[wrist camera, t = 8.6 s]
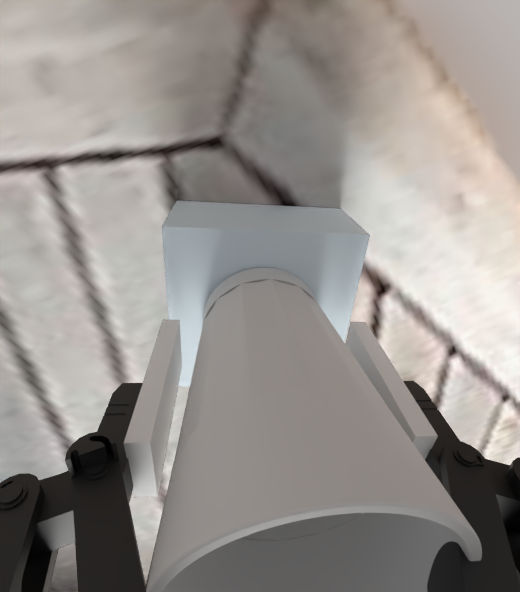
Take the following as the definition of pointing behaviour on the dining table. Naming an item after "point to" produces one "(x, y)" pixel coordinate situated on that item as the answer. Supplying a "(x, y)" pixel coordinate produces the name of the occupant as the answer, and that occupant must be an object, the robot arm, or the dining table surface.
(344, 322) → the pedestal block
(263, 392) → the cup
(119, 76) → the dining table surface
